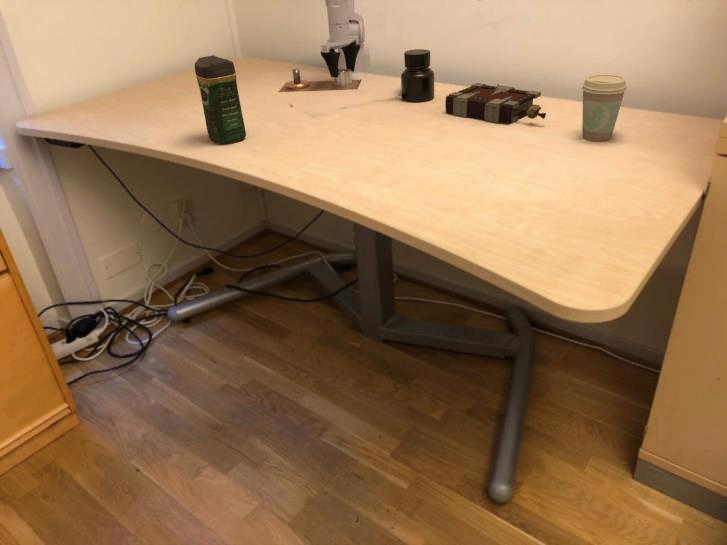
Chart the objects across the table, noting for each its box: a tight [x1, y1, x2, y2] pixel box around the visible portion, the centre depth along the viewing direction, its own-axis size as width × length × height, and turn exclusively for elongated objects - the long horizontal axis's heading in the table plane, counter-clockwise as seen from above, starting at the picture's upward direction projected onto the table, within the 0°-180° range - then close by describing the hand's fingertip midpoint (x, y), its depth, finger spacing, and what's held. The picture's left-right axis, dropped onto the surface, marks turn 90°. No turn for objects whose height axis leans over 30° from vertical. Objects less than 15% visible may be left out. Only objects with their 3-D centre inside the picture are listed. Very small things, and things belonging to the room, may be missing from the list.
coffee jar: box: [194, 54, 247, 144], centre depth 134 cm, size 10×8×19 cm
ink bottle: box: [400, 48, 435, 103], centre depth 155 cm, size 10×9×12 cm
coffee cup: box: [581, 74, 628, 142], centre depth 121 cm, size 8×8×12 cm
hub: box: [285, 68, 310, 90], centre depth 170 cm, size 7×7×5 cm
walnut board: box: [277, 79, 362, 93], centre depth 171 cm, size 23×11×2 cm, turn 84°
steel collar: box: [333, 68, 353, 87], centre depth 169 cm, size 5×5×4 cm
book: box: [444, 82, 547, 125], centre depth 140 cm, size 15×25×5 cm, turn 47°
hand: (342, 74), depth 168 cm, fingers open, 7 cm apart
